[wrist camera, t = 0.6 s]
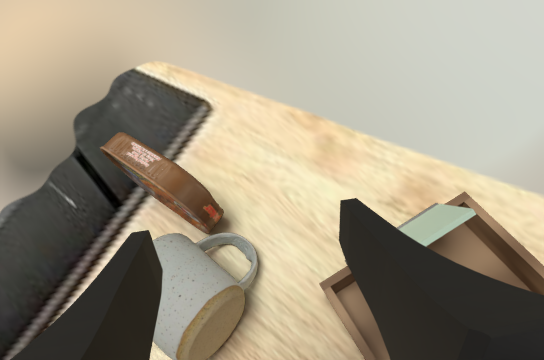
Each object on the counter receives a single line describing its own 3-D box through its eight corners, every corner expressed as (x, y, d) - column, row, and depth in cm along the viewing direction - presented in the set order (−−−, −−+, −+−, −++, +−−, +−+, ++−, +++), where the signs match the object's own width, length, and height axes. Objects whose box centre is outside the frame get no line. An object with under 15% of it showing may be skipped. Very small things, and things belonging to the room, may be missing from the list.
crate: (581, 334, 23) (610, 328, 20) (416, 442, 22) (421, 452, 19) (456, 209, 29) (464, 191, 26) (325, 293, 28) (319, 283, 25)
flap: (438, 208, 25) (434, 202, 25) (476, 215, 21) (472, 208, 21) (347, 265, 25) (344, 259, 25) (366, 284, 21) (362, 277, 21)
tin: (132, 181, 41) (80, 140, 34) (150, 161, 41) (103, 117, 34) (221, 246, 33) (177, 210, 26) (240, 219, 34) (203, 178, 27)
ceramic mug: (209, 376, 28) (158, 373, 21) (148, 315, 32) (90, 298, 25) (283, 266, 31) (258, 236, 24) (219, 223, 35) (184, 187, 28)
